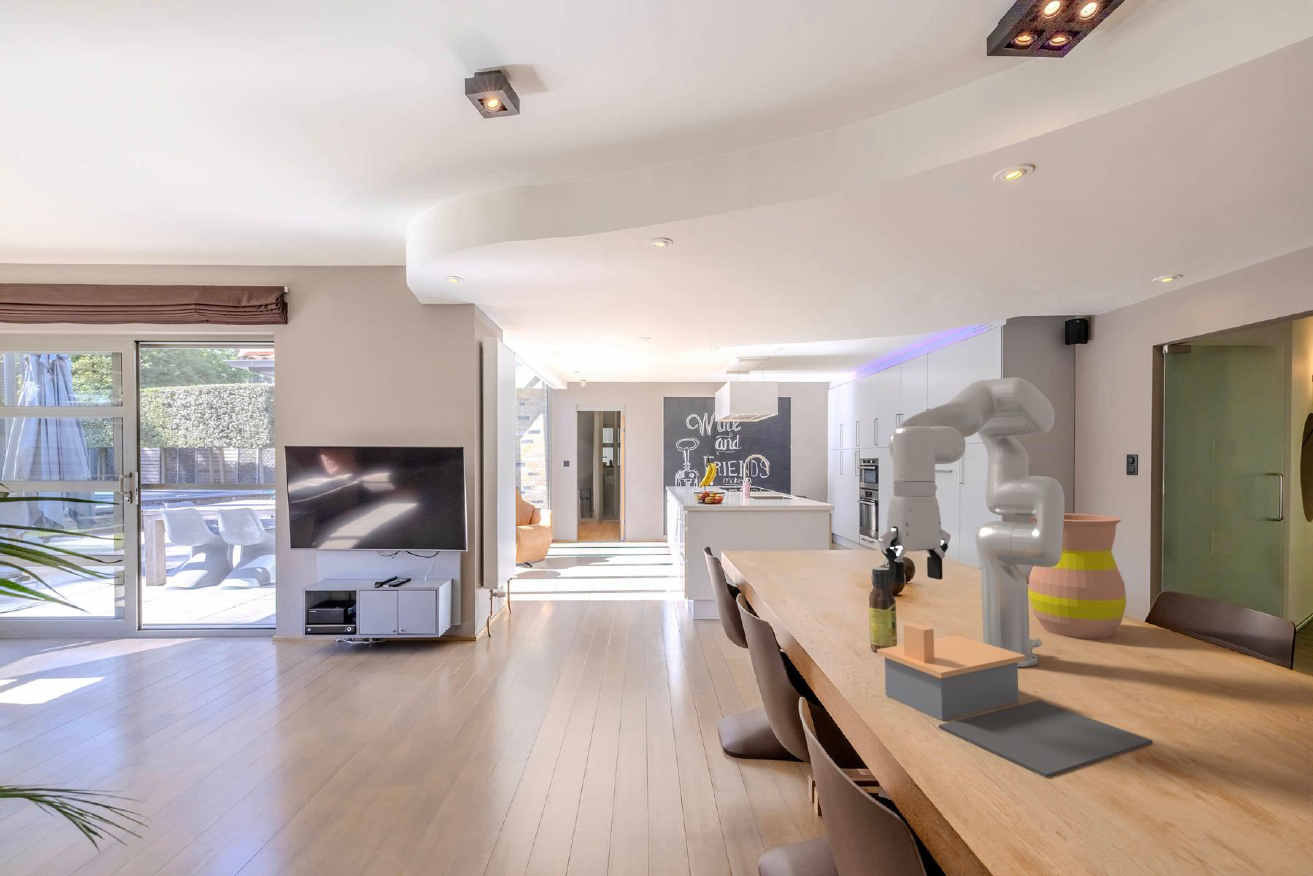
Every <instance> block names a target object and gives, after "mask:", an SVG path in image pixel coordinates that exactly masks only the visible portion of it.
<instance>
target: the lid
mask: <svg viewBox="0 0 1313 876" xmlns="http://www.w3.org/2000/svg"><path fill="white" fill-rule="evenodd" d="M934 636H935V634H934V628H932V627H930V626H929V627H928V626H926V625H921V624H918V623H915V622H910V623H904V624H903V644H900V645H897V646H893V647H888V648H882V649H877V652H876V654H877V655H878V656H881V657H883V658H884V659H885V658H888V659H891V660H893V661H896V662H899V663H901V664H904V665H907V666H909V667H912V668H915V669H917V670H920V671H923V672H925V673H928V674H931V675H933V676H936V677H939V678H946V677H951V676H955V675H960V674H965V673H969V672H974V671H979V670H984V669H988V668H993V667H998V666H1003V665H1007V664H1012V663H1017V662H1021V661H1026V655H1023V654H1019V653H1016V652H1012V651H1009V650H1006V649H1002V648H999V647H995V646H992V645H989V644H985V643H983V641H982V642H981V641H978V640H974V639H971V638H968V637H965V636H962V635H957V634H956V635H949V636H944V637H940V638H934Z"/></svg>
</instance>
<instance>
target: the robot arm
mask: <svg viewBox="0 0 1313 876" xmlns="http://www.w3.org/2000/svg"><path fill="white" fill-rule="evenodd" d="M1055 415H1056V414H1055V410H1054V407H1053V404H1052V403H1051V401H1050V400H1049V398H1048V397H1047V396H1045V395H1044V394H1043V392H1042V391H1040V390H1039V389H1038V388H1037V387H1036V386H1035V385H1034V384H1033V383H1032V382H1030V381H1028V380H1027V379H1025V378H1023V377H1004V378H993V379H982V380H978V381H974V382H972V383H970V384H968V385H966V387H964V388H963V390H961V391H960V392H959V393H957V395H956V396H954V397H953V398H951V400H950V401H949V402H946V403H943V404H939V405H937V406H935V407H932V408H930V409H927V410H924V411H922V412H919V413H916V414H914V415H912V416H910V417H908V418H907V419H905V420H904V421H902V422H901V423H900V424H899V425H898V426H897V427H896V428H895V429H894V430H893V432H892V433H891V435H890V437H889V440H888V452H889V454H890V456H891V458H892V472H893V474H892V476H893V478H892V479H893V497H891V498H890V500H889V503H888V504H889V505H888V509H887V519H886V532H885V533H884V534H883V535H882V536H880V537H879V538H878V539H877V541H878V544H879V547H880V548H881V553H882V554H883V555H884V556H885V560H886V561H888V568H889V583H890V582H891V583H895V584H900V585H902V584H904V583H905V563H904V562H903V561H902V559H903V558H904V556H905V555H906V553H907V552H919V551H921V552H922V551H926V552H927V554H928V555H929V556H927V558H926V565H927V566H926V571H927V572H926V573H927V574H926V575H927V577H928V578H929V579H935V580H943V577H944V576H943V559H944V558H945V556H946V554H945V553H946V551H947V550H948V549H949V543H950V540H951V537H952V535H951V533H949V532H948V531H945V530H944V529H943V528H942V520H941V512H940V506H939V501H938V498H937V497H936V491H937V488H938V487H937V485H936V465H947V464H949V465H950V464H954V463H955V462H957V461H959V460H960V459H962V456H963V455H964V453H965V451H966V440H965V438H969V437H971V436H973V435H976V434H977V433H978V435H979V437H980V440H981V441H982V443H983V445H984V448H985V449H986V452H987V461H988V462H987V464H988V466H987V478H986V479H987V480H986V492H985V493H986V494H985V501H986V506H987V509H988V511H989V512H991V513H992V514H993V515H997V516H1001V517H1003V516H1004V517H1005V516H1006V517H1015V518H1017V517H1018V518H1020V517H1021V518H1029V517H1030V518H1036V519H1037V524H1033V522H1032V523H1029V522H1027V523H1026V522H1018V521H1003V520H1002V521H999V520H997V521H996V520H995V521H994V520H993V521H988V522H985V523H983V524H981V525H980V526H979V527H978V528H977V531H976V533H975V544H976V545H975V546H976V550H977V554H978V560H979V566H980V574H981V601H982V602H981V603H982V604H981V605H982V610H981V613H982V638H983V640H982V643H985V644H989V645H992V646H995V647H999V648H1002V649H1006V650H1009V651H1012V652H1016V653H1019V654H1023V655H1026V661H1021V662H1017V665H1018V668H1019V667H1020V668H1021V667H1022V668H1023V667H1024V668H1025V667H1026V668H1027V667H1031V666H1035V665H1037V664H1038V662H1039V658H1038V655H1036V653H1033V649H1035V648H1040V647H1042V645H1043V641H1042V639H1041V638H1030V615H1029V612H1030V611H1029V610H1030V609H1029V595H1028V593H1029V583H1028V581H1027V579H1026V577H1025V575H1024V574H1023V572H1022V571H1021V570H1020V568H1019V567H1018V566H1019V565H1020V566H1029V567H1033V566H1037V567H1053V566H1055V565H1057V564H1058V563H1059V561H1060V559H1061V555H1062V548H1063V528H1064V514H1065V493H1064V490H1063V487H1062V485H1061V483H1060V481H1058V480H1057V479H1056V478H1053V477H1051V476H1044V475H1043V476H1042V475H1029V466H1030V465H1029V464H1030V457H1029V454H1028V452H1027V450H1026V449H1025V447H1024V446H1023V444H1021V443H1020V442H1019V440H1018V439H1017V438H1016V437H1014V436H1039V435H1043V434H1044V435H1045V434H1046V433H1048V432H1049V431H1050V430H1052V428H1053V426H1054V423H1055V419H1056V416H1055ZM1030 518H1029V519H1030Z"/></svg>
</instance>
